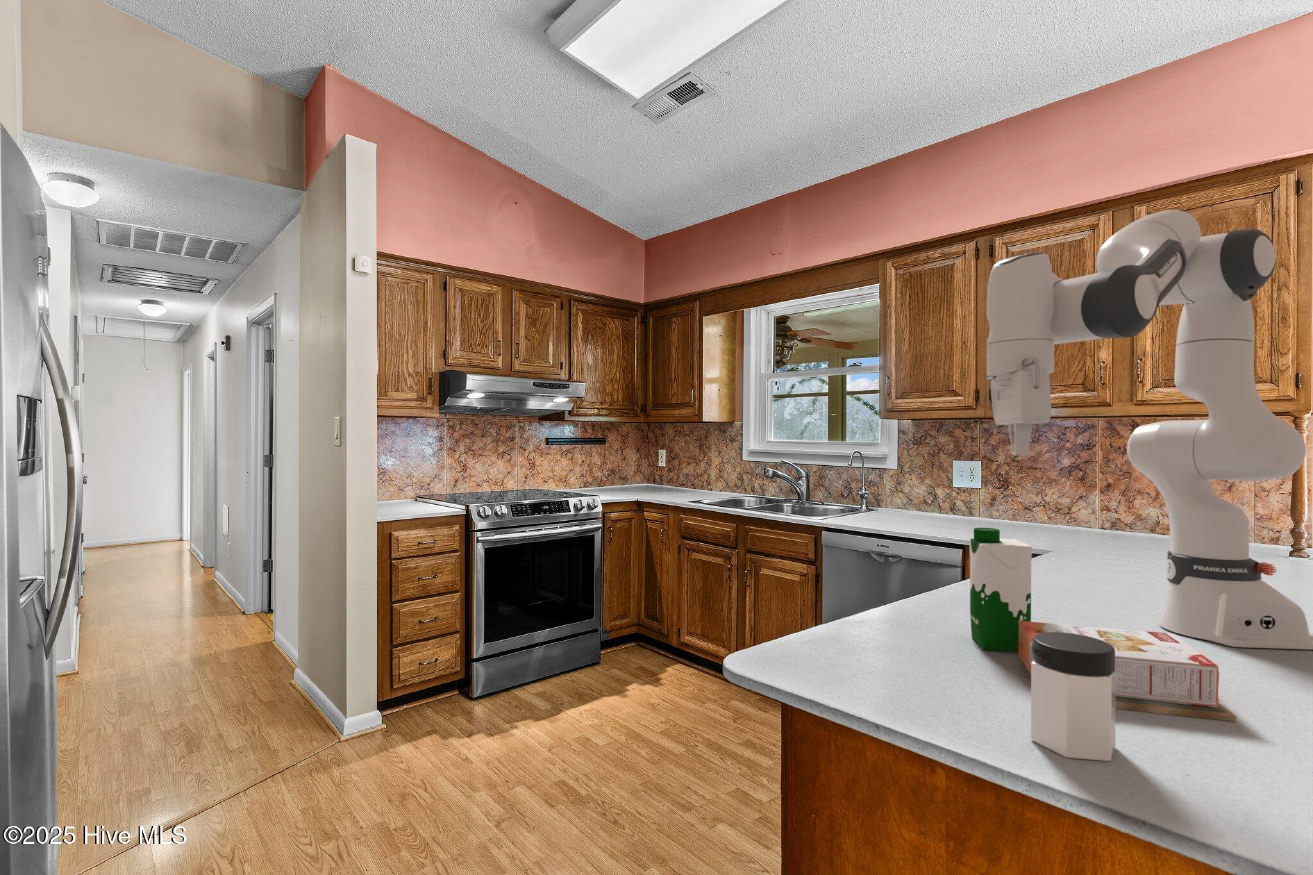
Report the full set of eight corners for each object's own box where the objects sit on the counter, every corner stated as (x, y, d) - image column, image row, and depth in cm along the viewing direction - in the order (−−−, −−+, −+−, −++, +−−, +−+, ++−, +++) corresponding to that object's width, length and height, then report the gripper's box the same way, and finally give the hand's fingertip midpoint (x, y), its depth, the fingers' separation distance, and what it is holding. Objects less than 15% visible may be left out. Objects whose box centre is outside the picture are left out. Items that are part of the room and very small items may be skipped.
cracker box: (1017, 617, 103) (1175, 632, 97) (1017, 655, 104) (1174, 672, 97) (1037, 645, 90) (1222, 664, 83) (1036, 688, 90) (1221, 711, 83)
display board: (1171, 671, 99) (1171, 666, 99) (1236, 721, 82) (1236, 714, 82) (1024, 658, 105) (1024, 652, 105) (1055, 701, 88) (1055, 695, 88)
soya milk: (964, 636, 117) (965, 525, 117) (1019, 639, 115) (1019, 526, 115) (978, 652, 108) (979, 532, 108) (1038, 655, 106) (1038, 534, 106)
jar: (1039, 721, 82) (1039, 626, 82) (1118, 740, 77) (1118, 639, 77) (1025, 747, 75) (1025, 644, 75) (1110, 770, 70) (1110, 659, 70)
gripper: (1064, 353, 86) (1064, 457, 86) (1027, 368, 106) (1027, 453, 106) (1011, 355, 88) (1011, 457, 88) (984, 369, 108) (984, 453, 108)
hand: (1020, 455), depth 97 cm, fingers closed
